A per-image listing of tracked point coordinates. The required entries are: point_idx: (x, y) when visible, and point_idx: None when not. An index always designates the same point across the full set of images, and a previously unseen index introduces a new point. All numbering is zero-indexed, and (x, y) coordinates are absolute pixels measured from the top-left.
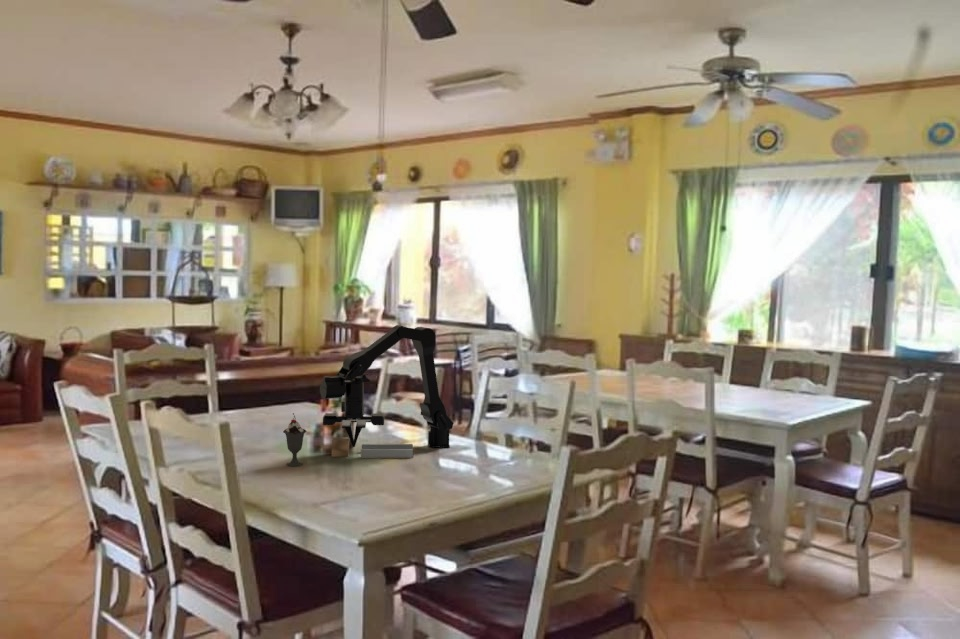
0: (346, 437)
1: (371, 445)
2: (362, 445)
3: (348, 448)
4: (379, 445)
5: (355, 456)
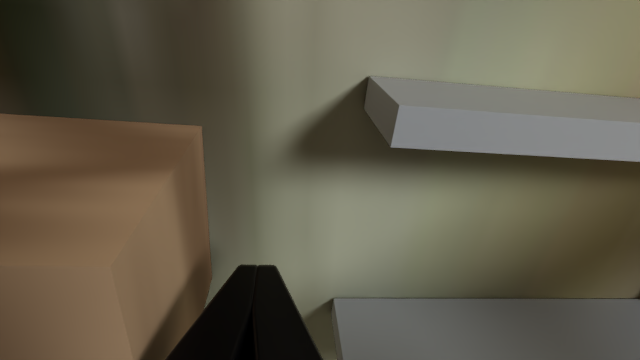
0: (48, 295)
1: (527, 151)
2: (395, 139)
3: (190, 275)
4: (635, 155)
5: (284, 274)
